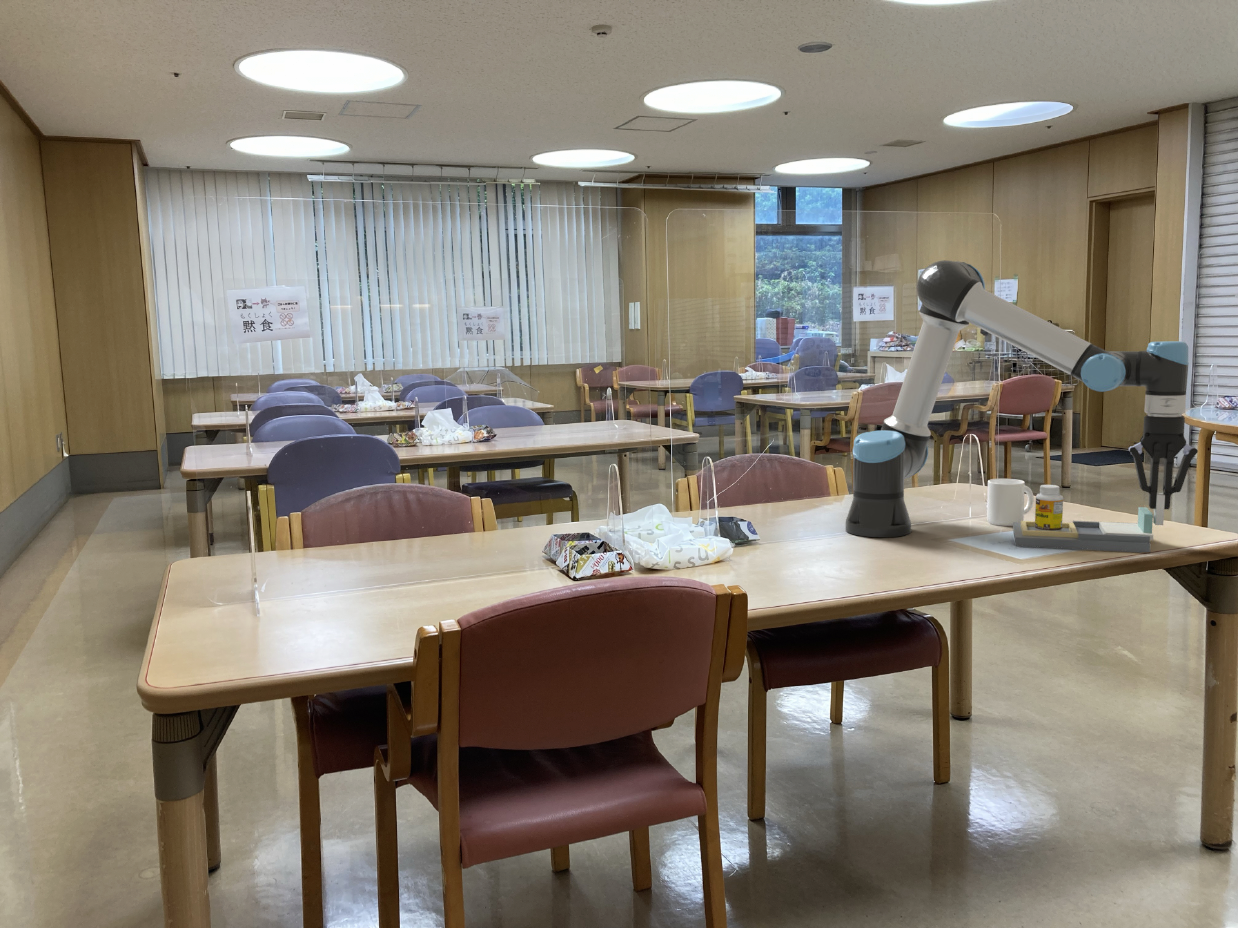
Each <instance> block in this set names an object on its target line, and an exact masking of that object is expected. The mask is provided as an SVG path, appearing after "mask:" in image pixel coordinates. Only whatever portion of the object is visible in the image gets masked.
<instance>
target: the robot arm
mask: <svg viewBox="0 0 1238 928" xmlns="http://www.w3.org/2000/svg"><path fill="white" fill-rule="evenodd" d="M916 293H917V296H918V298H919V301H920V302H921V305H920V308H919V312H918V313H919V315H920V317H921V319H922V325H921V326H920V327H921V328H920V331H919V333H918V336H917V338H916V342H915V345H914V348H913V352H912V354H911V358H910V360H909V364H908V367H907V370H906V372H905V376H904V379H903V380H902V381H903V382H902V385H901V387H900V390H899V394H898V397H897V400H896V404H895V406H894V409H893V412H892V415H890V416H889V417H887V418H885V419H884V420H883V423H882V426H881V428H880V430H873V431H866V432H862V433H861V434H859V435H857V436H855V438H854V440H853V447H852V457H853V458H852V464H853V465H852V468H853V469H852V473H853V474H852V479H853V480H852V482H853V483H852V485H853V486H852V487H853V492H852V493H853V495H852V501H851V505H850V507H849V510H848V513H847V516H846V519H845V531H846V532H847V533H848V534H851V535H855V536H860V537H870V538H896V537H903V536H906V535H909V534H911V532H912V522H911V517H910V515H909V512H908V509H907V505H906V503H905V496H904V495H905V491H904V490H905V479H907V478H910V477H912V476H915V475H916V474H917V473H919V472H921V470H922V469H923V467H924V466H925V464H926V463H927V461H928V458H929V446H928V445H929V441H930V438H931V435H932V434H931V433H932V432H931V430H930V428H929V426H928V424H929V421H930V418H931V415H932V412H933V409H934V406H935V403H936V401H937V398H938V394H939V392H940V389H941V385H942V382H943V380H944V377H945V375H946V372H947V368H948V365H949V362H950V360H951V356H952V354H953V351H954V347H955V346H956V345H955V344H956V341H957V339H958V336H959V333H960V331H962V330H963V329H966V328H967V327H969V325H970V324H971V325H973V326H975V327H977V328H979V329H980V330H983V331H985V332H987V333H989V334H990V335H992V336H994V337H996V338H998V339H1000V340H1002V341H1004V342H1006V343H1008V344H1009V345H1012V346H1013V347H1016V348H1017V349H1020V350H1021V351H1023V352H1025V353H1026V354H1027V353H1028V354H1029V355H1031V356H1033V357H1035V358H1036V359H1039V360H1040V361H1043V362H1045V363H1047V364H1049V365H1051V366H1053V367H1054V368H1056V369H1058V370H1060V371H1062V372H1064V373H1066V374H1067V375H1070V376H1071V377H1073V378H1075V379H1076V380H1078V381H1080V382H1083V384H1084V385H1085V386H1086V387H1087V388H1089V389H1090V390H1092V391H1096V392H1102V393H1104V392H1107V391H1108V392H1109V391H1113V390H1115V389H1116V388H1118V387H1145V394H1144V395H1145V396H1144V413H1146V414H1145V416H1143V427H1142V428H1143V430H1142V431H1143V432H1142V433H1143V434H1142V437H1140V439H1139V442H1138V443H1135V444H1134V445H1130V446H1129V447H1128V451H1129V452H1130V455H1132V457H1133V462H1134V467H1135V470H1136V476H1137V480H1138V484H1139V488H1140V489H1141V490H1142V491H1143V492H1146V493H1148V495H1149V496H1148V507H1149V508H1150V509H1151V510H1153V523H1152V524H1154V525H1155V526H1164V520H1165V518H1164V517H1165V510H1170V508H1171V496H1172V495H1173V494H1174V493H1175V494H1176V493H1180V492H1181V491H1182V488H1183V486H1184V482H1185V479H1186V477H1187V474H1188V472H1189V468H1190V466H1191V462H1192V459H1193V458H1194V457H1195V456H1196V455H1197V454H1198V449H1197V448H1195V447H1194V446H1191V445H1189V444H1188V443H1187V440H1186V438H1185V423H1186V420H1185V419H1186V418H1185V417H1184V415H1183V414H1185V413H1186V402H1187V401H1186V400H1187V398H1186V397H1187V390H1188V389H1187V388H1188V387H1187V386H1188V376H1189V374H1188V373H1189V346H1188V344H1187V343H1186V342H1185V341H1177V340H1176V341H1175V340H1174V341H1173V340H1172V341H1171V340H1169V341H1168V340H1166V341H1164V340H1163V341H1151V342H1148V345H1147V347H1146V350H1139V351H1133V350H1132V351H1130V350H1129V351H1128V350H1127V351H1126V350H1123V351H1121V350H1120V351H1119V350H1118V351H1117V350H1115V351H1114V350H1112V351H1111V350H1105V349H1103V348H1101V347H1099V346H1097V345H1094V344H1093V343H1091V342H1089V341H1087V340H1085V339H1082V338H1081V337H1079V336H1077V335H1075V334H1073V333H1071V332H1070V331H1067V330H1066V329H1063V328H1061V327H1059V326H1057V325H1055V324H1053V323H1051V322H1049V321H1047V320H1045V319H1043V318H1041V317H1040V316H1037V315H1035V314H1033V313H1032V312H1029V311H1027V310H1025V309H1024V308H1022V307H1019V306H1018V305H1015V304H1013V303H1012V302H1011V301H1010V302H1009V301H1008V300H1005V299H1003V298H1002V297H1000V296H999V295H995V294H994V293H992V292H989V291H988V290H986V283H985V280H984V277H983V275H982V273H981V272H980V270H979V269H977V268H976V267H975V266H973V265H972V264H970V263H968V262H967V263H966V262H964V261H959V260H958V261H955V260H938V261H935V262H933V263H931V264H928V266H927V267H925V268H924V269H923V271H922V272H921V273H920V275H919V277H918V279H917V284H916ZM1142 449H1144V450H1145V452H1146V453H1147V454H1148V455H1149V457H1150V468H1149V469H1150V470H1149V485H1148V483H1147V482H1148V481H1147V478H1146V472H1145V468H1144V464H1143V459H1142V456H1141V454H1142V453H1143V450H1142ZM1181 451H1182V454H1183V456H1182V459H1181V461H1180V464H1179V467H1178V470H1177V472H1176V477H1175V479H1174V480H1173V469H1174V468H1173V467H1174V458H1175V457H1176V456H1177V455H1178V454H1179V453H1180V452H1181ZM1161 459H1163V461H1164V462H1163V464H1164V465H1163V479H1162V480H1163V481H1162V492H1158V490H1159V489H1158V487H1159V472H1160V462H1161V461H1160V460H1161ZM1173 481H1174V482H1173ZM1172 483H1173V484H1172Z"/></svg>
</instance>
